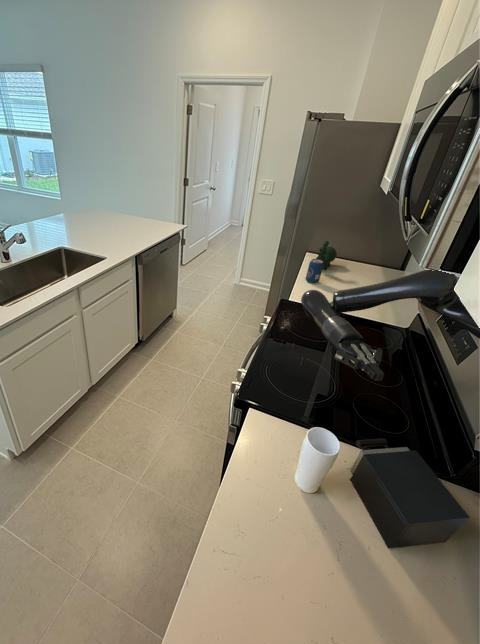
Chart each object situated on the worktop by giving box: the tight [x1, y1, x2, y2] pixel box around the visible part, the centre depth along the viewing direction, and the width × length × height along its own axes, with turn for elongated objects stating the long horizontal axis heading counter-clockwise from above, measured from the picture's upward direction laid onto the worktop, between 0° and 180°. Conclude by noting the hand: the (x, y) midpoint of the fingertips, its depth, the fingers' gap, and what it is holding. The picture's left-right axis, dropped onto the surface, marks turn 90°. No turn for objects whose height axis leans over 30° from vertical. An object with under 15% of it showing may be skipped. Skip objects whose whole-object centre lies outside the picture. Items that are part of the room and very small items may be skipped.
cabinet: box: [349, 449, 470, 550], centre depth 64 cm, size 14×13×10 cm
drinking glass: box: [294, 426, 341, 494], centre depth 67 cm, size 7×7×15 cm
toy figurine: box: [315, 240, 338, 271], centre depth 181 cm, size 9×19×25 cm
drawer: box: [349, 437, 411, 476], centre depth 67 cm, size 16×11×8 cm
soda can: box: [305, 258, 323, 285], centre depth 163 cm, size 7×7×12 cm
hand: (379, 378), depth 71 cm, fingers closed
